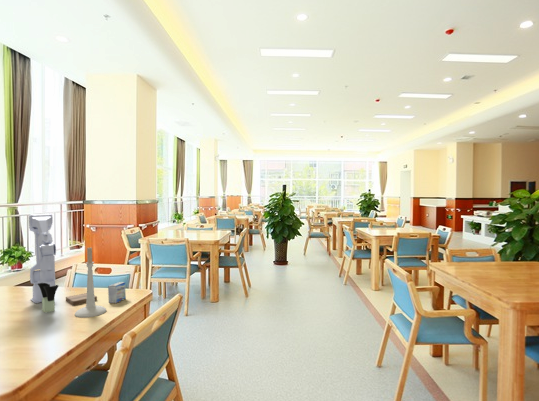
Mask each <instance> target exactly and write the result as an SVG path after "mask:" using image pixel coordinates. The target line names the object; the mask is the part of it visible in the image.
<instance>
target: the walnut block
mask: <svg viewBox="0 0 539 401" xmlns="http://www.w3.org/2000/svg"><path fill="white" fill-rule="evenodd" d="M94 298H95V302H96V301H98V297H97V295H95V294H94ZM86 300H87V292H83V293H79V294H76V295H75V294H74V295H70V296H66V297H65V302H67V303H68V304H71V305H72V306H78V305H82V304H86Z"/></svg>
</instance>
